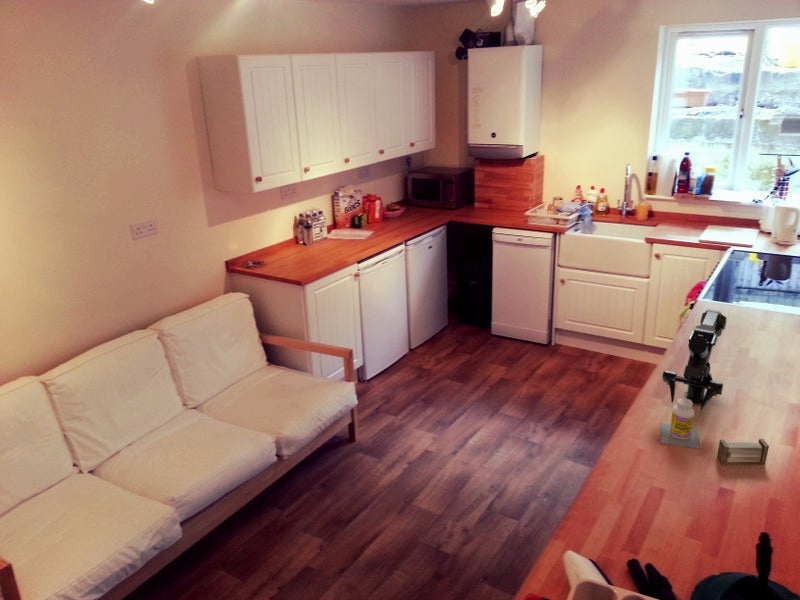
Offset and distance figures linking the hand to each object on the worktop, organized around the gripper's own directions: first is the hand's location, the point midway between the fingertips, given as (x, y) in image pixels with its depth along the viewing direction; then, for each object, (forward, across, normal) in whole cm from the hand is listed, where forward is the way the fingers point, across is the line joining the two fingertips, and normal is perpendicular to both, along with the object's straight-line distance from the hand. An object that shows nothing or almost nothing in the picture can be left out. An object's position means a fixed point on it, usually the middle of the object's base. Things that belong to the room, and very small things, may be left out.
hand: (686, 406), depth 220 cm
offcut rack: (+14, +19, -2) cm, 24 cm away
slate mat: (+10, 0, +1) cm, 10 cm away
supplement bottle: (+10, 0, +1) cm, 10 cm away
